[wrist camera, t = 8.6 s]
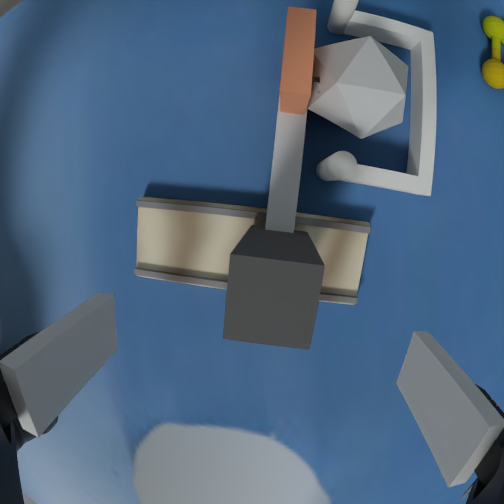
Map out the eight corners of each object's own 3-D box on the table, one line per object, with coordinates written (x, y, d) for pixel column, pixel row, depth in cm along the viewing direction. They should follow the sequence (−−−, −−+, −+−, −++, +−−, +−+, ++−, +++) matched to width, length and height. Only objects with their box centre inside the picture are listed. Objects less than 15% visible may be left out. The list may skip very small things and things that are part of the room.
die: (336, 42, 26) (284, 26, 19) (423, 55, 21) (402, 34, 14) (331, 119, 30) (279, 128, 24) (413, 139, 26) (389, 154, 19)
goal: (314, 179, 28) (327, 177, 20) (327, 18, 24) (338, -25, 17) (417, 197, 27) (457, 202, 20) (421, 41, 24) (454, 10, 16)
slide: (140, 273, 32) (134, 277, 30) (143, 196, 30) (136, 197, 28) (352, 301, 30) (355, 306, 29) (366, 221, 29) (371, 224, 27)
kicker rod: (247, 275, 30) (222, 338, 18) (271, 51, 25) (262, -27, 13) (299, 281, 30) (309, 349, 17) (323, 57, 25) (347, -17, 12)
